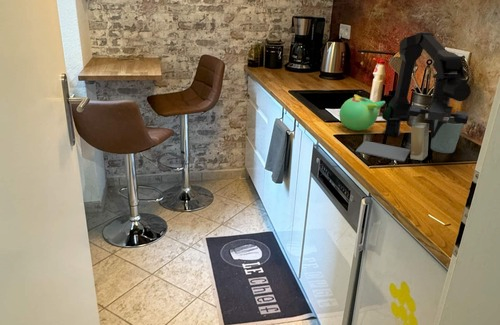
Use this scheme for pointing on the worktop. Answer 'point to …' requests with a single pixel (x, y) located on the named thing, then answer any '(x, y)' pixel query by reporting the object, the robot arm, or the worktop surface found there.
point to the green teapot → (359, 113)
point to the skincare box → (419, 141)
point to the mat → (383, 151)
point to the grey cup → (446, 137)
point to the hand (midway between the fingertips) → (432, 137)
